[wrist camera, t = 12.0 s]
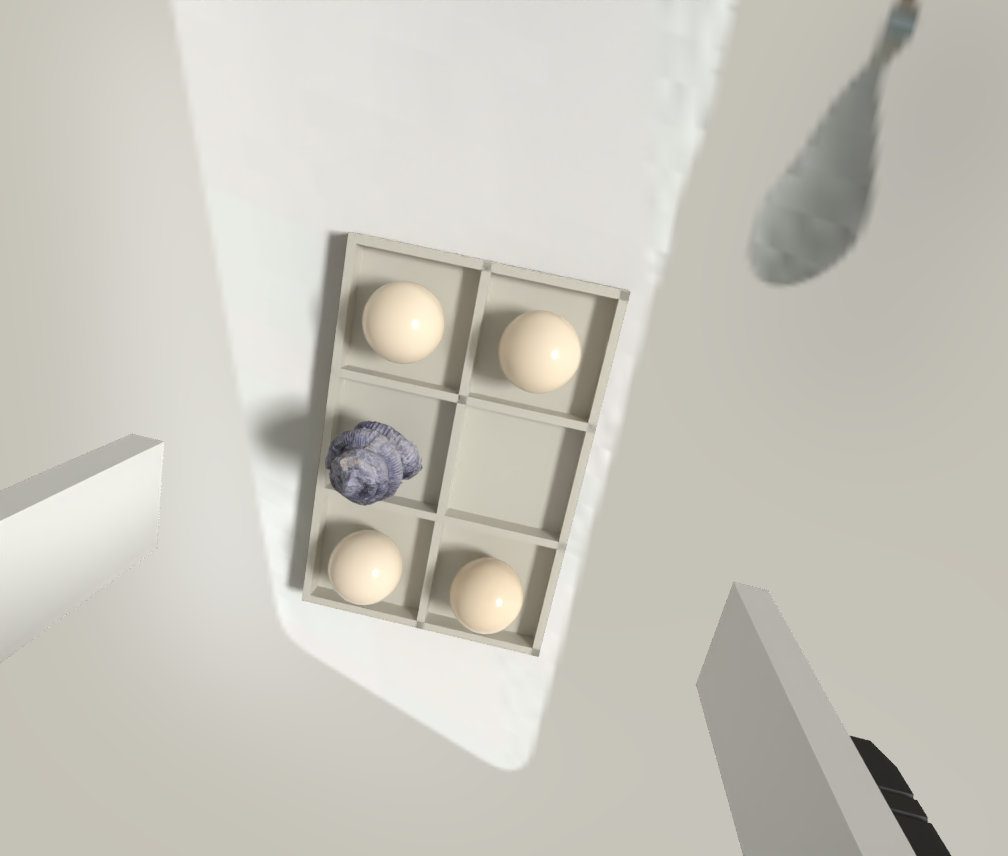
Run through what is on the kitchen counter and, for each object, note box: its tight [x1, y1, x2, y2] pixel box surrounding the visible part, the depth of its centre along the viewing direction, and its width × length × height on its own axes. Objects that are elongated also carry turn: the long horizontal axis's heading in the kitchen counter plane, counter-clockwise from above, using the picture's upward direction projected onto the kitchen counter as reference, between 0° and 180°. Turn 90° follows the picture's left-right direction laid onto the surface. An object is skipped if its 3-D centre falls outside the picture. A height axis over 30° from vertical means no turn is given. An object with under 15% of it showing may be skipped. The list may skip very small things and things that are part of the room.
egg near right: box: [498, 310, 582, 394], centre depth 42 cm, size 5×5×5 cm
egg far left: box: [328, 530, 403, 605], centre depth 47 cm, size 5×5×5 cm
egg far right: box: [450, 558, 524, 634], centre depth 47 cm, size 5×5×5 cm
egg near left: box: [362, 281, 445, 364], centre depth 42 cm, size 5×5×5 cm
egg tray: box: [302, 232, 630, 657], centre depth 47 cm, size 28×19×2 cm
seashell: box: [325, 421, 423, 506], centre depth 43 cm, size 5×5×10 cm
